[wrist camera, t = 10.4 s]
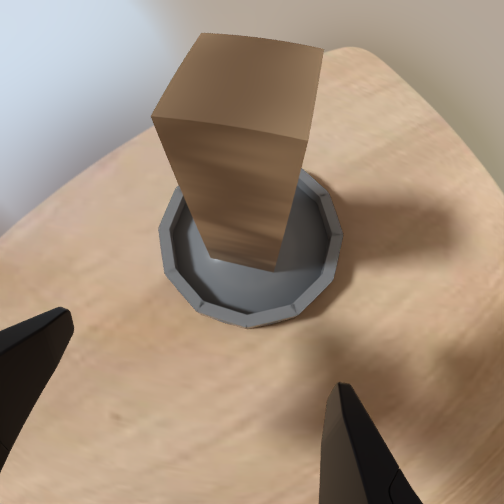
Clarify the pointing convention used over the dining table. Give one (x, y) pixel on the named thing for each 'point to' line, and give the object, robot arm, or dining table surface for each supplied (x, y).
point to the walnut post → (240, 139)
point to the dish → (251, 279)
